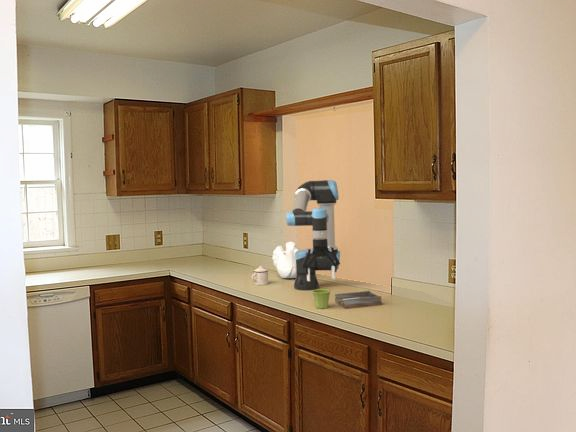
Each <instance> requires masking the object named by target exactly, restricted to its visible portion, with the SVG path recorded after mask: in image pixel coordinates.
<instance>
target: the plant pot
mask: <svg viewBox="0 0 576 432" xmlns="http://www.w3.org/2000/svg"><path fill="white" fill-rule="evenodd" d="M331 293H332V290H331V289H330V290H329V289H327V288H326V289H325V288H323V289H321V288H320V289H319V288H317V289H313V290H312V295H313V297H314V302H315V308H316V309H319V310H321V309H324V310H325V308H326V309H328V307H329V300H330V294H331Z"/></svg>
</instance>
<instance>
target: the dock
mask: <svg viewBox="0 0 576 432" xmlns="http://www.w3.org/2000/svg"><path fill="white" fill-rule="evenodd" d="M334 303H335V304H337V305H338V306H340V307H342V308H343V309H345V310H347V309H348V310H349V309H355V308H356V309H357V308H364V307H365V308H366V307H367V308H368V307H375V306H381V305H382V296H381V295H377V294H375V293H373V292H371V291H370V290H364V291H353V292H346V293H345V292H344V293H334Z"/></svg>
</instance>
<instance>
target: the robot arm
mask: <svg viewBox="0 0 576 432" xmlns="http://www.w3.org/2000/svg"><path fill="white" fill-rule="evenodd" d="M294 192H295V193H294V198H295V199H294V203H293V206H292V209H291V211H287V212H286V214H285V215H286V217H285V221H286V225H287V226H290V227H300V226H302V227H303V226H305V227H306V226H307V227H310V226H312V238H313V239H312V248H305V249H301V250H299V251H298V252H297V253H296V273H297V275H296V278H294V279H295V280H294V283H293V288H294V289H295V290H297V291H298V290H299V291H311V290H312V291H313V290H318V289H319V288H320V284H319V280H318V278H317V271H330V272H331V279H332V280H336V273H337V270H338V269H339V266H340V265H341V262H340V260H341V258H340V257H341V251H340V250H339V249H338V248H339V247H338V246H337V245H336V234H335V233H336V231H335V230H336V229H335V228H336V227H335V226H336V225H335V206H336V205H337V201H338V200H339V198H340V197H339V189H338V185H337V182H336V180H330V179H329V180H328V179H327V180H323V179H322V180H309V181H305V182H304V183H302V184H300V186H298V187H297V189H296V191H294ZM310 201H316V204H317V205H318V206H319V207H317V208H315V207H314V208H312V210H310V211H307V209H308V204H309V202H310Z"/></svg>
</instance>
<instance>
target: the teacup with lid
mask: <svg viewBox="0 0 576 432" xmlns="http://www.w3.org/2000/svg"><path fill="white" fill-rule="evenodd" d="M251 280H252V282H254V285H255V286H266V285H269V270H268V269H267V268H265V267H263V265H259V267H257V268H256V269H254V270H253V274H252V275H251Z"/></svg>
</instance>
